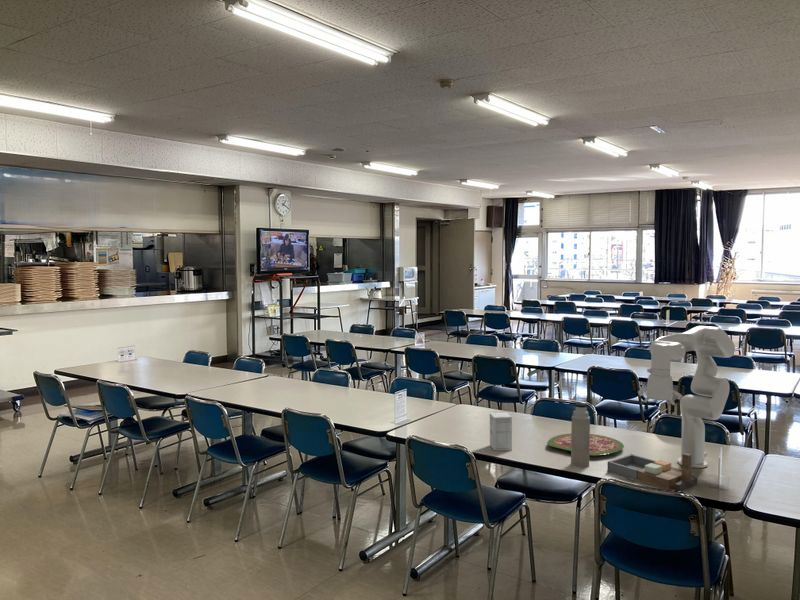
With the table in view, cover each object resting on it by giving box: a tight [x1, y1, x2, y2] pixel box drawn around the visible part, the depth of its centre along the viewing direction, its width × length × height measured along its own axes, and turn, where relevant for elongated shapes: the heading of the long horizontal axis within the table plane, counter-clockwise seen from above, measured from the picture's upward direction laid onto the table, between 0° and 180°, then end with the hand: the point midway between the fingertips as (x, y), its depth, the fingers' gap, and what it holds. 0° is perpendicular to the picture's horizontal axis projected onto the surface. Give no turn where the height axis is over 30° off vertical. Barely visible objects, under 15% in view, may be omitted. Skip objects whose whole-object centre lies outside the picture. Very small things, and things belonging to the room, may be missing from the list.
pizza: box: [546, 433, 625, 457], centre depth 312 cm, size 35×35×2 cm
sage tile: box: [645, 463, 662, 474], centre depth 264 cm, size 5×5×2 cm
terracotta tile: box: [654, 459, 672, 471], centre depth 268 cm, size 5×5×2 cm
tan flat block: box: [636, 466, 682, 491], centre depth 264 cm, size 16×14×4 cm
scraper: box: [674, 453, 698, 492], centre depth 256 cm, size 14×2×14 cm, turn 127°
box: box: [606, 453, 657, 481], centre depth 275 cm, size 18×14×4 cm
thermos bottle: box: [570, 402, 591, 469], centre depth 284 cm, size 8×8×28 cm
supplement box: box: [489, 412, 513, 451], centre depth 310 cm, size 10×9×17 cm
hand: (659, 412), depth 265 cm, fingers open, 9 cm apart
